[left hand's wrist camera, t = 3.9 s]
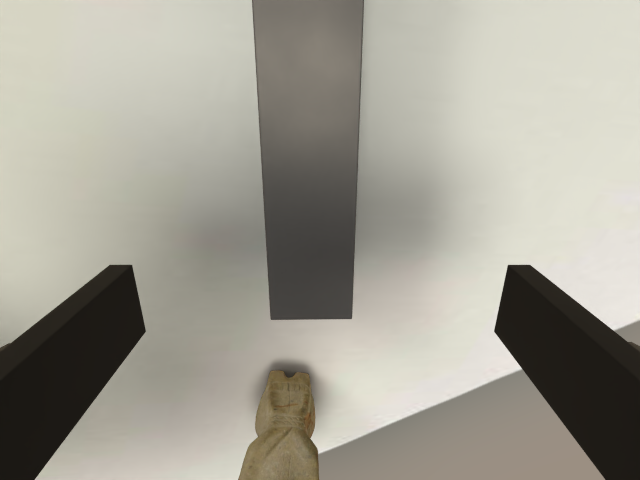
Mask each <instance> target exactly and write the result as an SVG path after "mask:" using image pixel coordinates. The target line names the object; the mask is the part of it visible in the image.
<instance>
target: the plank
mask: <svg viewBox="0 0 640 480" xmlns="http://www.w3.org/2000/svg"><path fill="white" fill-rule="evenodd" d="M252 7H253V24H254V41H255V58H256V75H257V93H258V110H259V127H260V144H261V161H262V179H263V196H264V213H265V230H266V247H267V265H268V282H269V299H270V316H271V320H294V319H352V304H353V277H354V250H355V224H356V197H357V171H358V144H359V118H360V91H361V65H362V38H363V12H364V0H252Z"/></svg>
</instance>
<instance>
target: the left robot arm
mask: <svg viewBox="0 0 640 480" xmlns="http://www.w3.org/2000/svg"><path fill="white" fill-rule="evenodd" d="M145 332H146V330H145V325H144V320H143V316H142V311H141V306H140V301H139V296H138V292H137V287H136V282H135V277H134V272H133V268H132V265H109V266H108V267H107V268H106V269H104V270H103V271H102V272H100V273H99V274H98V275H97V276H95V277H94V278H93V279H92V280H90V281H89V282H88V283H87V284H85V285H84V286H83V287H81V288H80V289H79V290H78V291H76V292H75V293H74V294H73V295H71V296H70V297H69V298H68V299H66V300H65V301H64V302H62V303H61V304H60V305H59V306H57V307H56V308H55V309H54V310H52V311H51V312H50V313H49V314H47V315H46V316H45V317H43V318H42V319H41V320H40V321H38V322H37V323H36V324H35V325H33V326H32V327H31V328H30V329H28V330H27V331H26V332H24V333H23V334H22V335H21V336H19V337H18V338H17V339H16V340H14V341H13V342H12V343H9V344H7V345H5V346H3V347H1V348H0V480H35V478H36V477H37V476H38V474H39V473H40V472H41V470H42V469H43V468H44V466H45V465H46V464H47V462H48V461H49V460H50V458H51V457H52V456H53V454H54V453H55V452H56V450H57V449H58V448H59V446H60V445H61V444H62V442H63V441H64V440H65V438H66V437H67V436H68V434H69V433H70V432H71V430H72V429H73V428H74V426H75V425H76V424H77V422H78V421H79V420H80V418H81V417H82V416H83V414H84V413H85V412H86V410H87V409H88V408H89V406H90V405H91V404H92V402H93V401H94V400H95V398H96V397H97V396H98V394H99V393H100V392H101V390H102V389H103V388H104V386H105V385H106V384H107V382H108V381H109V380H110V378H111V377H112V376H113V374H114V373H115V372H116V370H117V369H118V368H119V366H120V365H121V364H122V362H123V361H124V360H125V358H126V357H127V356H128V354H129V353H130V352H131V350H132V349H133V348H134V346H135V345H136V344H137V342H138V341H139V340H140V338H141V337H142V336H143V334H144V333H145ZM494 332H495V333H496V334H497V336H498V337H499V338H500V340H501V341H502V342H503V344H504V345H505V346H506V348H507V349H508V350H509V352H510V353H511V354H512V356H513V357H514V358H515V360H516V361H517V362H518V364H519V365H520V366H521V368H522V369H523V370H524V372H525V373H526V374H527V376H528V377H529V378H530V380H531V381H532V382H533V384H534V385H535V386H536V388H537V389H538V390H539V392H540V393H541V394H542V396H543V397H544V398H545V400H546V401H547V402H548V404H549V405H550V406H551V408H552V409H553V410H554V412H555V413H556V414H557V416H558V417H559V418H560V420H561V421H562V422H563V424H564V425H565V426H566V428H567V429H568V430H569V432H570V433H571V434H572V436H573V437H574V438H575V440H576V441H577V442H578V444H579V445H580V446H581V448H582V449H583V450H584V452H585V453H586V454H587V456H588V457H589V458H590V460H591V461H592V462H593V464H594V465H595V466H596V468H597V469H598V470H599V472H600V473H601V474H602V476H603V477H604V478H605V480H640V346H638V345H636V344H634V343H632V342H627V341H626V340H624V339H623V338H622V337H621V336H619V335H618V334H617V333H616V332H614V331H613V330H612V329H610V328H609V327H608V326H607V325H605V324H604V323H603V322H602V321H600V320H599V319H598V318H597V317H595V316H594V315H593V314H591V313H590V312H589V311H588V310H586V309H585V308H584V307H583V306H581V305H580V304H579V303H578V302H576V301H575V300H574V299H572V298H571V297H570V296H569V295H567V294H566V293H565V292H564V291H562V290H561V289H560V288H559V287H557V286H556V285H555V284H553V283H552V282H551V281H550V280H548V279H547V278H546V277H545V276H543V275H542V274H541V273H540V272H538V271H537V270H536V269H534V268H533V267H532V266H531V265H508V268H507V272H506V277H505V282H504V287H503V292H502V296H501V301H500V306H499V311H498V316H497V320H496V325H495V330H494Z"/></svg>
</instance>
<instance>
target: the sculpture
mask: <svg viewBox="0 0 640 480" xmlns="http://www.w3.org/2000/svg"><path fill="white" fill-rule="evenodd" d="M314 427H315V408H314V400H313V396H312V394H311V385H310V378H309V375H308V374H307V373H300V372H296V373H295V374H294V376H293V377H290V378H288V377H286V376H285V373H284V371H279V370H278V371H271V372H270V374H269V378H268V382H267V386H266V389H265V392H264V393H263V395H262V397H261V400H260V403H259V406H258V410H257V414H256V422H255V429H256V433H257V435H258V438H256V439H255V440H254V441H253V442H252V443H251V444H250V446H249V447H248V449H247V452H246V455H245V458H244V461H243V465H242V469H241V472H240V476H239V479H238V480H319V464H318V450H317V447H316V446H315V445H314V443H313V442H312V440H311V439H310V438H311V436H312V434H313V431H314Z"/></svg>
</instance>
